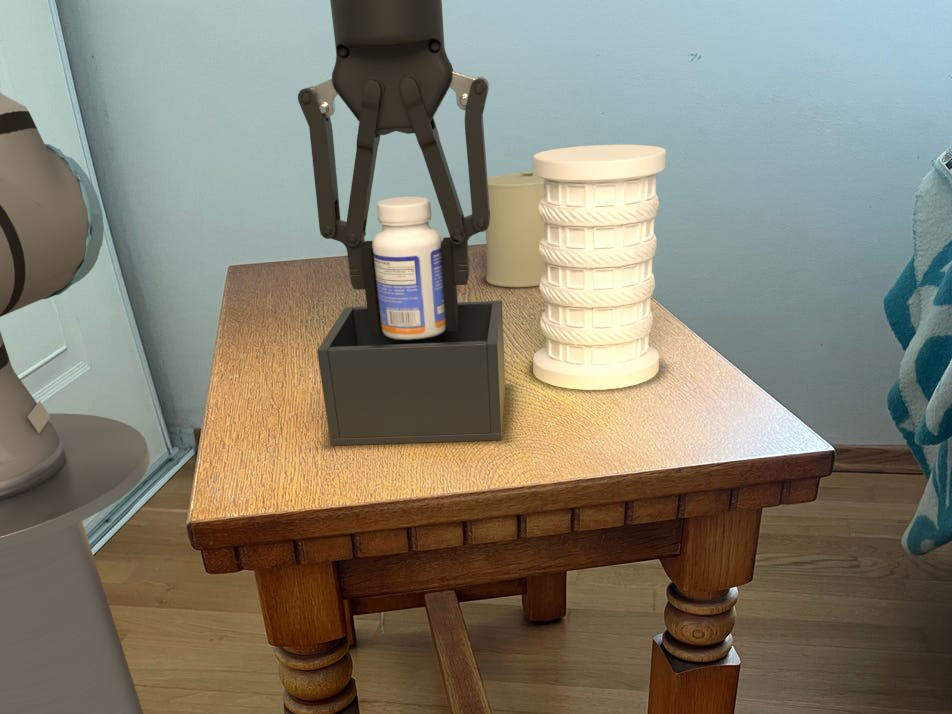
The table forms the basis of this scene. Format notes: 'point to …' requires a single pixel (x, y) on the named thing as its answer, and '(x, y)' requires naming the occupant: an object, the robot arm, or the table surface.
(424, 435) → the bin
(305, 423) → the table surface
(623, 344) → the decorative container
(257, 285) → the table surface
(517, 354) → the table surface
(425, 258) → the pill bottle
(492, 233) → the can
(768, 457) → the table surface
